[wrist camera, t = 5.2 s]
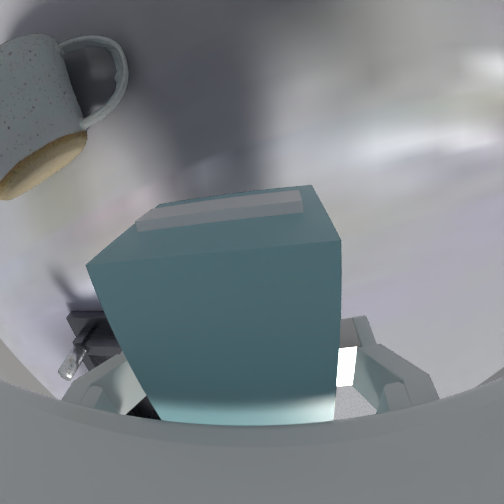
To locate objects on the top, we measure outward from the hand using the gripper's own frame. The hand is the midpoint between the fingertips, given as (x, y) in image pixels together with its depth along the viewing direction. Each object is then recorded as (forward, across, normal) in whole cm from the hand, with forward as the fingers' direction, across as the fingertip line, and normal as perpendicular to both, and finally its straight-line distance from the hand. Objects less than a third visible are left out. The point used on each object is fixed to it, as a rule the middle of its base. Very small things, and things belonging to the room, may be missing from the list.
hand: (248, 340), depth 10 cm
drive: (+2, 0, 0) cm, 2 cm away
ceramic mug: (+9, -12, +12) cm, 19 cm away
